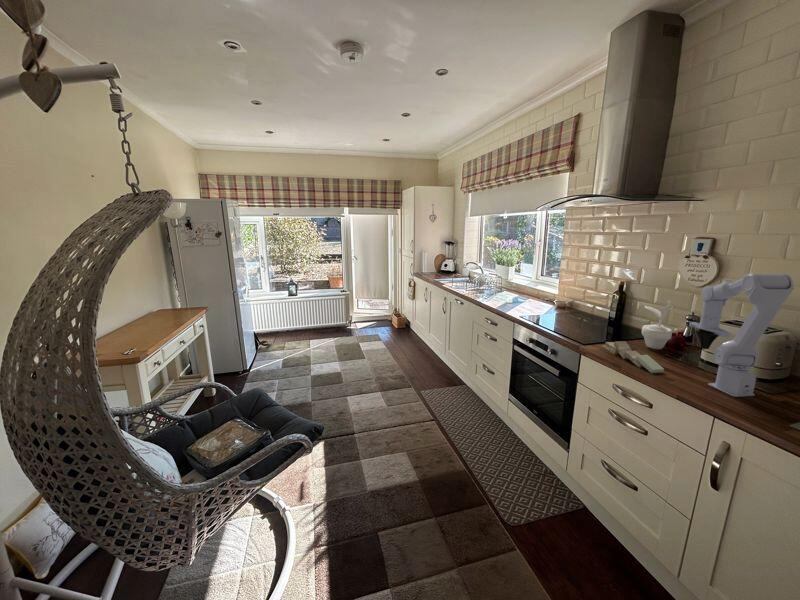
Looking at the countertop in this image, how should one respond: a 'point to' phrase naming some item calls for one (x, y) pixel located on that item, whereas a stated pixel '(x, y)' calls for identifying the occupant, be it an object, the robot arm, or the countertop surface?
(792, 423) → the countertop surface
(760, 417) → the countertop surface
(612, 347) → the domino
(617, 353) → the domino
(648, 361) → the domino
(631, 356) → the domino
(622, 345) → the domino
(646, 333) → the potted plant
